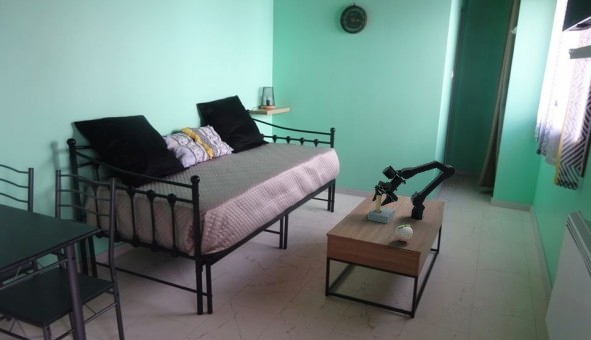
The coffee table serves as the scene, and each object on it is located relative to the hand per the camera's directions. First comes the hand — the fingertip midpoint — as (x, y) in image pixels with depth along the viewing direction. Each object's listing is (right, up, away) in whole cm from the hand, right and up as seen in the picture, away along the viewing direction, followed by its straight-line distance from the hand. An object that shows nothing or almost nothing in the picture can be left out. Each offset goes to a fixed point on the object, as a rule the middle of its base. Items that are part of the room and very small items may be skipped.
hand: (376, 203), depth 243 cm
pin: (+1, -9, +3) cm, 9 cm away
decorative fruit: (+8, -18, -31) cm, 37 cm away
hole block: (+3, -9, +3) cm, 10 cm away
